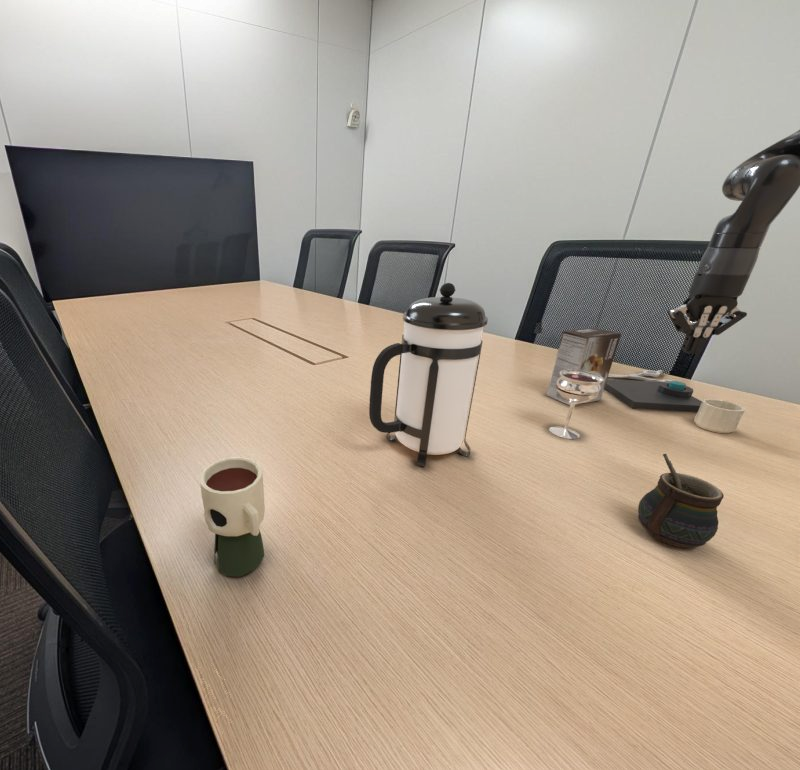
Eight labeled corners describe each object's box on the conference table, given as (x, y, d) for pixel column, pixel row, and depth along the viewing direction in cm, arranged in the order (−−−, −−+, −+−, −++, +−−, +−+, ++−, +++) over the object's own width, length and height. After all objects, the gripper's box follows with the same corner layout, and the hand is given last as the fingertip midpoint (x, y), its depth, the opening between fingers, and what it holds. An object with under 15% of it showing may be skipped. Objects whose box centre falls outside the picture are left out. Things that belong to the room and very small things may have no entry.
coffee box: (574, 390, 92) (593, 326, 86) (601, 400, 86) (623, 333, 80) (545, 395, 90) (562, 330, 84) (570, 406, 84) (590, 337, 78)
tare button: (678, 386, 86) (680, 381, 86) (686, 391, 84) (689, 385, 83) (665, 385, 87) (667, 380, 86) (673, 390, 84) (675, 384, 84)
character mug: (197, 544, 50) (184, 462, 45) (244, 522, 53) (237, 443, 48) (233, 606, 41) (222, 514, 36) (287, 575, 45) (283, 486, 40)
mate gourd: (681, 563, 45) (716, 496, 41) (615, 520, 52) (639, 459, 48) (721, 548, 47) (758, 483, 43) (652, 509, 54) (678, 449, 50)
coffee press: (393, 420, 80) (406, 275, 69) (474, 438, 73) (504, 279, 61) (364, 460, 67) (375, 288, 55) (461, 487, 59) (497, 295, 47)
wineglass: (579, 445, 69) (598, 385, 65) (538, 431, 74) (553, 375, 70) (590, 433, 73) (609, 376, 69) (550, 421, 78) (566, 367, 74)
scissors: (691, 385, 91) (598, 380, 95) (690, 387, 92) (597, 382, 96) (661, 370, 101) (577, 366, 105) (660, 372, 101) (577, 368, 105)
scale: (664, 388, 92) (669, 376, 91) (710, 413, 80) (716, 400, 78) (598, 384, 95) (601, 373, 94) (632, 408, 82) (636, 396, 81)
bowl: (718, 422, 76) (728, 399, 74) (742, 435, 71) (754, 412, 69) (685, 419, 77) (695, 398, 75) (707, 433, 72) (718, 409, 70)
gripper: (747, 269, 78) (711, 349, 84) (671, 269, 80) (643, 346, 87) (782, 273, 71) (741, 359, 78) (698, 273, 74) (665, 356, 80)
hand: (689, 352), depth 82 cm, fingers closed
